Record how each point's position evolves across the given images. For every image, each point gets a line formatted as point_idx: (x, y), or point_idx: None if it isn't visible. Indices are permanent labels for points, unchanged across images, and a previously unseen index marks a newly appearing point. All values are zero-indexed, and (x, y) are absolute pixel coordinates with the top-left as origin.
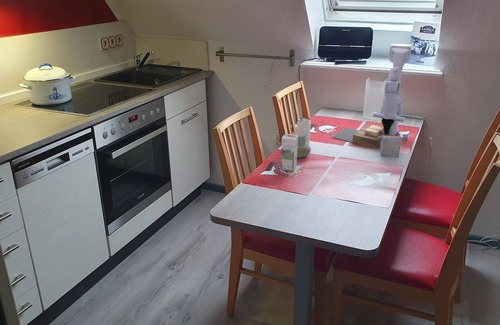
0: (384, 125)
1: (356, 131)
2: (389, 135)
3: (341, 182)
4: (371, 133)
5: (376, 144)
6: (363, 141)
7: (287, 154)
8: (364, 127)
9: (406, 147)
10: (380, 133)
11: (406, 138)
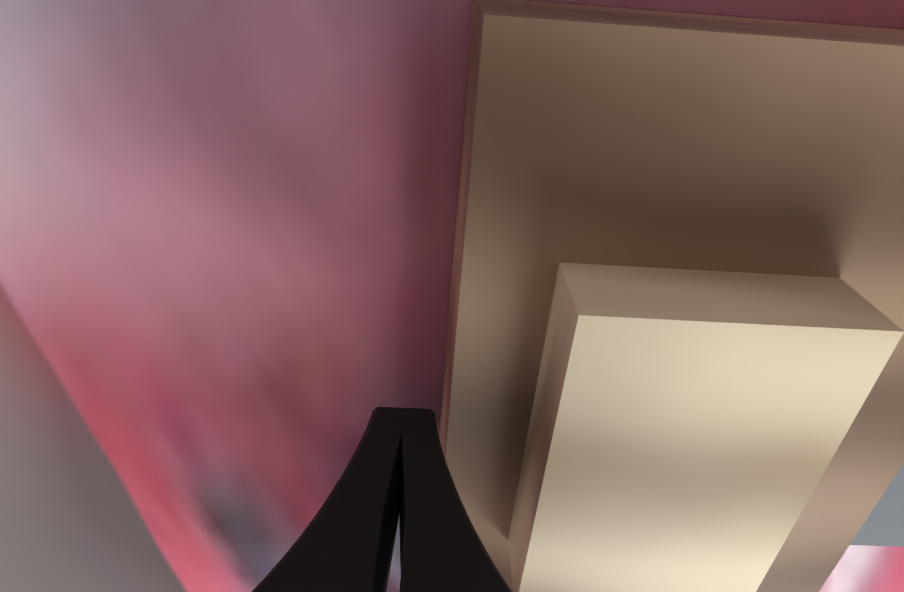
0: (445, 570)
1: (883, 499)
2: None
3: None
4: (702, 291)
5: (480, 4)
6: (796, 25)
7: None
8: (837, 552)
9: (69, 319)
10: (526, 442)
11: (249, 573)
